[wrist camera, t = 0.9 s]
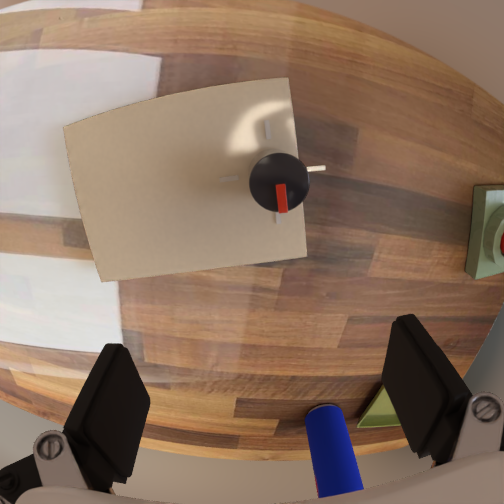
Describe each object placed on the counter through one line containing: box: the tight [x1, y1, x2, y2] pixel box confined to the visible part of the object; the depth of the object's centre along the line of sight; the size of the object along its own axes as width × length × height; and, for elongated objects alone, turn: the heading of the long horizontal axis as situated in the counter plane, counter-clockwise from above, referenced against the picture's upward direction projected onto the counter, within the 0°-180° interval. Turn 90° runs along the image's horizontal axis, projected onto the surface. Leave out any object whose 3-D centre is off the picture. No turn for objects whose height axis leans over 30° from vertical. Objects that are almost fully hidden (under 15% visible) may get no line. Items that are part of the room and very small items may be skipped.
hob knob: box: [248, 148, 310, 214], centre depth 20 cm, size 4×4×5 cm
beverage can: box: [305, 404, 364, 498], centre depth 30 cm, size 5×5×15 cm
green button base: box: [465, 185, 504, 280], centre depth 25 cm, size 10×7×4 cm
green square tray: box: [356, 385, 401, 428], centre depth 35 cm, size 9×9×2 cm
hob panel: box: [63, 77, 326, 282], centre depth 23 cm, size 14×20×3 cm
